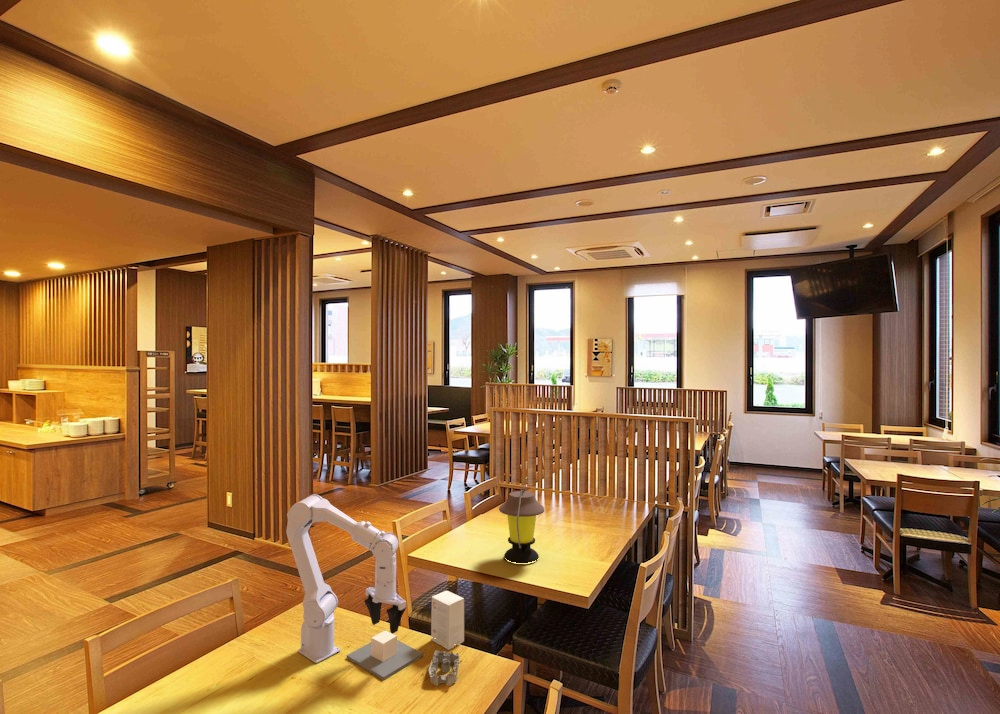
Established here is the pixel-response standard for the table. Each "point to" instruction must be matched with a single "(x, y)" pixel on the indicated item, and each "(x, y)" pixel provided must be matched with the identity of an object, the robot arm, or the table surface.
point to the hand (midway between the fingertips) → (384, 627)
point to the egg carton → (444, 667)
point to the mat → (387, 667)
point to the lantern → (521, 525)
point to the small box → (447, 619)
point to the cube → (384, 646)
